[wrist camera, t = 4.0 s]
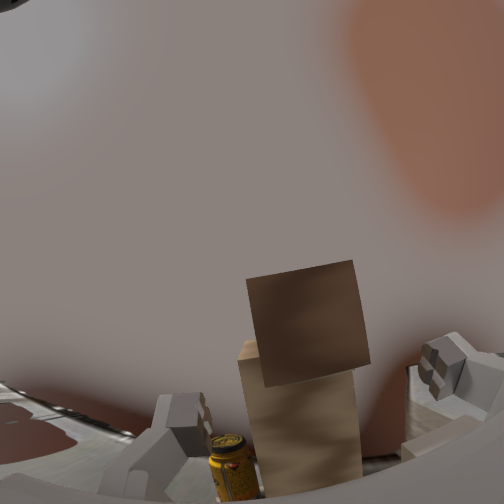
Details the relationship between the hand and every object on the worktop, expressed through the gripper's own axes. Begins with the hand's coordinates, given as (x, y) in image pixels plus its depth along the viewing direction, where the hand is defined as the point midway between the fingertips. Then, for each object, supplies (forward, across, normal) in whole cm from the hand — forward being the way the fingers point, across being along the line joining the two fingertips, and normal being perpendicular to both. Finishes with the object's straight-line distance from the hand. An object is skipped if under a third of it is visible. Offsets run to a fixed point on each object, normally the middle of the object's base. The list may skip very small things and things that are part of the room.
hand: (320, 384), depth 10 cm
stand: (0, 0, +30) cm, 30 cm away
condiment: (+11, +8, +37) cm, 39 cm away
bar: (+9, 0, +5) cm, 10 cm away
